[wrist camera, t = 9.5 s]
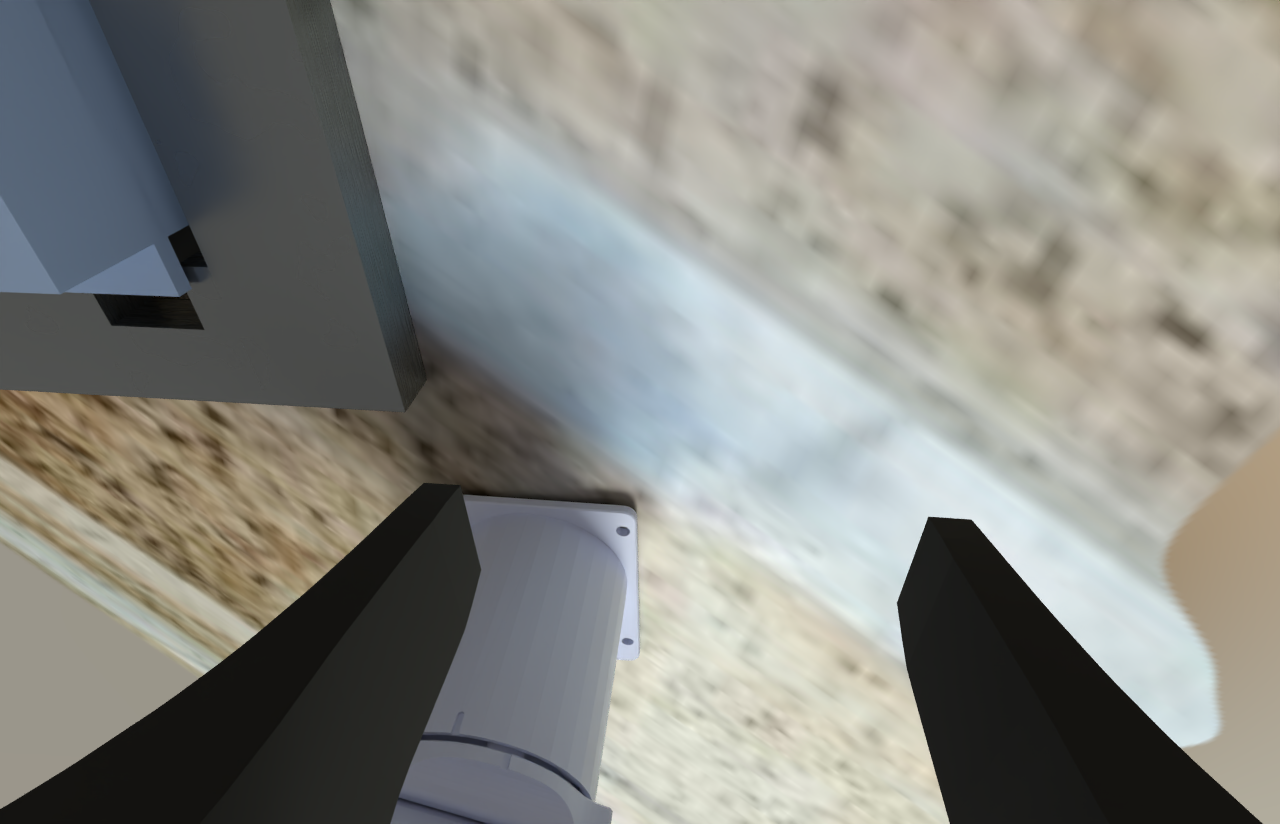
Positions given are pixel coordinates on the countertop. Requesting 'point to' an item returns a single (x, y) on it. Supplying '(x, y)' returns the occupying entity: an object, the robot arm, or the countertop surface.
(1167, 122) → the countertop surface
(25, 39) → the servo
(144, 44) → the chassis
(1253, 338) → the countertop surface
